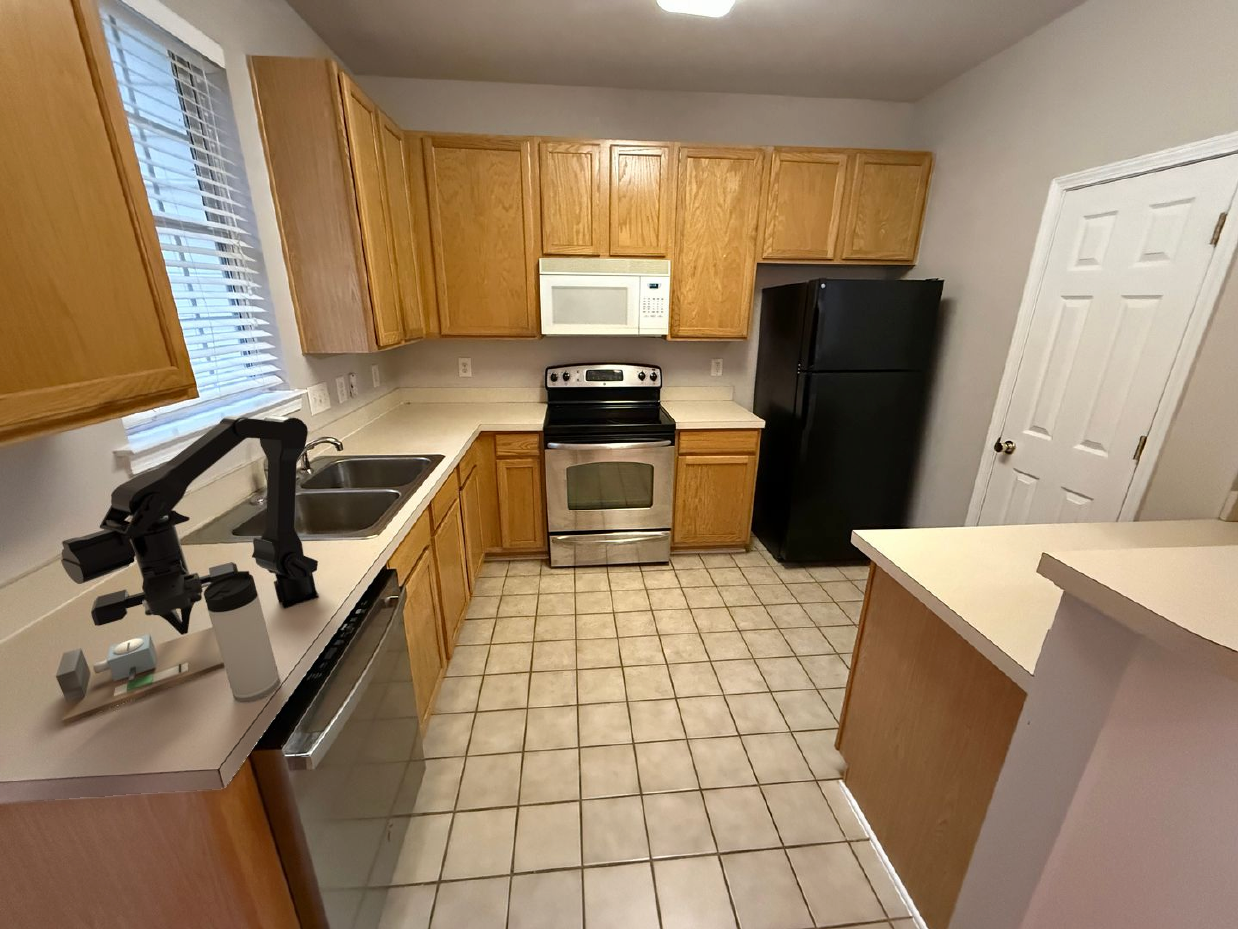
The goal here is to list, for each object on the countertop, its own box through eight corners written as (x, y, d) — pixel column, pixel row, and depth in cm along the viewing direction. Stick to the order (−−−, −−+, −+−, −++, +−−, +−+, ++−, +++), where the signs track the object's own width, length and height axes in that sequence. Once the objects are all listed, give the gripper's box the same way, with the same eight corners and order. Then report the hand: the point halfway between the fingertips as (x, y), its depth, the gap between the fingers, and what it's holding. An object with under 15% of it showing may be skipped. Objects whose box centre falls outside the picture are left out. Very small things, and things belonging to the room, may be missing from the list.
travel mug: (289, 673, 84) (264, 569, 78) (264, 703, 78) (234, 592, 72) (252, 674, 84) (223, 570, 78) (224, 704, 77) (190, 593, 71)
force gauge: (156, 652, 87) (149, 631, 86) (154, 679, 81) (146, 657, 80) (100, 671, 83) (92, 649, 82) (94, 700, 76) (85, 677, 75)
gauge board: (237, 623, 97) (230, 597, 96) (244, 660, 87) (236, 631, 85) (77, 675, 84) (65, 645, 82) (64, 725, 74) (50, 692, 72)
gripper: (71, 594, 71) (106, 683, 76) (232, 554, 82) (254, 633, 87) (82, 565, 79) (113, 647, 84) (227, 532, 91) (247, 605, 95)
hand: (184, 633), depth 87 cm, fingers closed
